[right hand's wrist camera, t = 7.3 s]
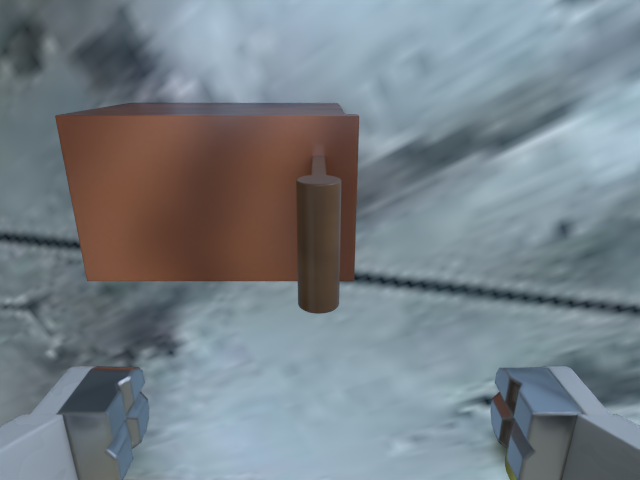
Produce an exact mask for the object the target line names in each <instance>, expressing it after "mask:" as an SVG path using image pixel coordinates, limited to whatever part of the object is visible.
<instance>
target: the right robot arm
mask: <svg viewBox="0 0 640 480" xmlns="http://www.w3.org/2000/svg"><path fill="white" fill-rule="evenodd" d="M144 384H145V379H144V374H143V370H141V369H140V368H139V367H105V366H96V367H94V366H74V367H72V368H69V369H68V370H67V371H66V372H65V374H64V375H63V376H62V377H61V378H60V379H59V381H58V382H57V383H56V384H55V385H54V386H53V388H52V389H51V390H50V391H49V392H48V393H47V395H46V396H45V397H44V398H43V399H42V401H41V402H40V403H39V404H38V405H37V406H36V408H35V409H34V410H33V411H32V412H31V413H30V415H21V416H19V417H17V418H15V419H13V420H11V421H9V422H7V423H6V424H4V425H2V426H0V480H123V479H124V477H125V475H126V473H127V471H128V469H129V467H130V465H131V462H132V460H133V453H132V449H133V448H134V447H135V446H137V445H138V444H140V443H141V442H142V440H143V437H144V435H145V433H146V430H147V425H148V421H149V404H148V399H147V398H146V397H145V396H144V395H143V394H142V393H141V392H140V391H141V389H142V388H143V386H144ZM495 384H496V386H497V388H498V390H499V391H500V392H499V393H498V394H497V395H496V396H495V397H494V398H493V399H492V405H491V420H492V426H493V430H494V433H495V435H496V437H497V440H498V442H499V443H500V444H502V445H503V446H505V447H506V448H507V449H508V453H507V460H508V463H509V465H510V467H511V469H512V471H513V473H514V475H515V477H516V479H517V480H640V426H638V425H636V424H634V423H632V422H631V421H629V420H627V419H625V418H623V417H621V416H619V415H610V413H609V412H608V411H607V410H606V409H605V408H604V406H603V405H602V404H601V403H600V402H599V401H598V399H597V398H596V397H595V396H594V395H593V394H592V392H591V391H590V390H589V389H588V388H587V387H586V385H585V384H584V383H583V382H582V381H581V380H580V378H579V377H578V376H577V375H576V374H575V373H574V371H573V370H572V369H571V368H569V367H567V366H549V367H523V368H499V369H498V371H497V373H496V379H495Z"/></svg>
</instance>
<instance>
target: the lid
mask: <svg viewBox="0 0 640 480" xmlns="http://www.w3.org/2000/svg"><path fill="white" fill-rule="evenodd" d="M55 117H56V123H57V128H58V133H59V138H60V143H61V148H62V153H63V159H64V164H65V169H66V174H67V179H68V184H69V190H70V195H71V200H72V205H73V210H74V215H75V220H76V226H77V231H78V236H79V241H80V246H81V251H82V257H83V262H84V267H85V272H86V277H87V281H298V304H299V306H300V308H301V309H303V310H304V311H307V312H310V313H327V312H330V311H333V310H335V309H336V308H337V307H338V305H339V281H354V266H355V233H356V201H357V168H358V135H359V116H358V115H357V114H61V115H56V116H55Z"/></svg>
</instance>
